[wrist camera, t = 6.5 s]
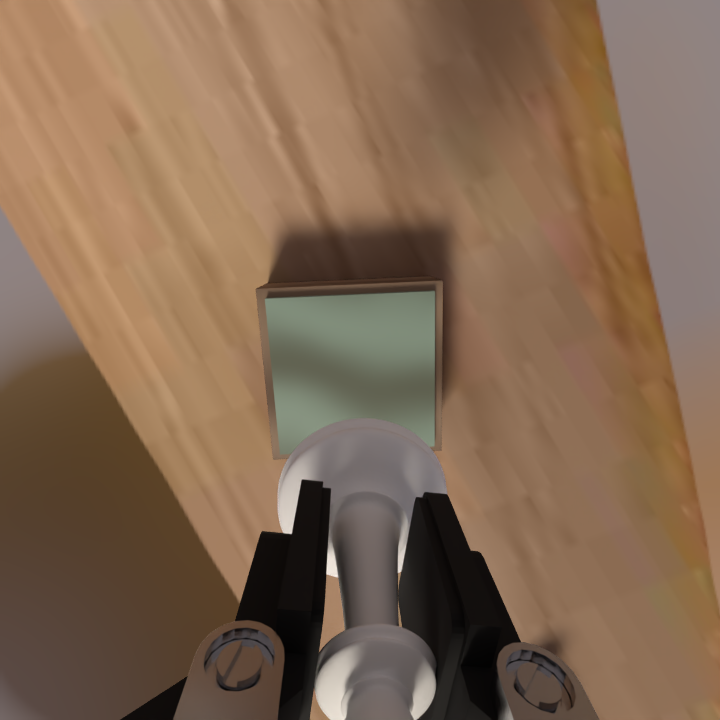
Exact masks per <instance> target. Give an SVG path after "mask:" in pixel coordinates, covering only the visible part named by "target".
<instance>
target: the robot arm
mask: <svg viewBox="0 0 720 720" xmlns="http://www.w3.org/2000/svg"><path fill="white" fill-rule="evenodd" d="M330 500H331V488H324V487H323V481H314V480H304V479H302V480H301V486H300V491H299V497H298V502H297V507H296V513H295V518H294V524H293V529H292V534H287V533H276V532H265V531H262V532H261V534H260V537H259V541H258V544H257V548H256V551H255V554H254V558H253V561H252V565H251V568H250V572H249V575H248V578H247V582H246V585H245V589H244V592H243V595H242V599H241V602H240V606H239V609H238V613H237V616H236V619H235V622H232V623H229V624H225V625H222V626H221V627H219V628H218V629H216V630H214V631H213V632H211V633H210V634H209V635H208V637H206V638H205V639H204V641H203V642H202V643H201V645H200V647H199V648H198V650H197V652H196V654H195V657H194V660H193V662H192V666H191V668H190V671H189V674H188V676H187V677H185V678H184V679H182V680H181V681H179V682H178V683H176V684H175V685H173V686H172V687H170V688H169V689H167V690H165V691H164V692H162V693H161V694H159V695H158V696H156V697H155V698H153V699H152V700H150V701H148V702H147V703H145V704H144V705H142V706H141V707H139V708H138V709H136V710H135V711H133V712H132V713H130V714H128V715H127V716H125V717H124V718H122V719H121V720H309V719H310V712H311V705H312V697H313V690H314V683H315V676H316V668H317V661H318V654H319V647H320V639H321V632H322V625H323V616H324V605H325V589H326V571H327V553H328V536H329V518H330ZM398 601H399V608H400V615H401V622H402V628H405V629H407V630H409V631H411V632H413V633H415V634H416V635H418V636H419V637H420V638H421V639H423V640H424V641H425V642H426V644H427V645H428V646H429V647H430V649H431V651H432V652H433V654H434V657H435V659H436V664H437V666H436V674H435V677H436V691H435V695H434V698H433V700H432V702H431V704H430V706H429V707H428V709H427V710H426V711H425V713H423V714H422V715H421V716H420V717H419V718H418V719H417V720H599V718H598V716H597V714H596V712H595V710H594V708H593V706H592V704H591V702H590V700H589V698H588V697H587V695H586V693H585V691H584V689H583V687H582V685H581V683H580V682H579V680H578V679H577V677H576V676H575V674H574V673H573V671H572V670H571V669H570V668H569V667H568V666H567V665H566V664H565V663H564V662H563V661H562V660H561V659H560V658H558V657H557V656H555V655H554V654H553V653H551V652H550V651H548V650H546V649H544V648H541V647H539V646H537V645H534V644H529V643H525V642H521V641H520V639H519V637H518V634H517V632H516V630H515V627H514V625H513V623H512V621H511V618H510V616H509V614H508V612H507V609H506V607H505V605H504V603H503V600H502V598H501V596H500V594H499V591H498V589H497V587H496V585H495V582H494V580H493V578H492V576H491V573H490V571H489V569H488V566H487V564H486V562H485V560H484V558H483V556H482V554H481V553H480V552H478V551H471V550H470V548H469V545H468V543H467V541H466V538H465V536H464V533H463V531H462V528H461V526H460V524H459V521H458V519H457V516H456V514H455V511H454V509H453V506H452V504H451V502H450V499H449V497H448V495H447V494H442V493H432V492H424V494H423V497H416V499H415V502H414V507H413V512H412V518H411V523H410V528H409V534H408V539H407V544H406V550H405V555H404V560H403V566H402V571H401V576H400V582H399V589H398Z"/></svg>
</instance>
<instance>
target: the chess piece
mask: <svg viewBox="0 0 720 720" xmlns="http://www.w3.org/2000/svg"><path fill="white" fill-rule="evenodd" d="M302 479H304V480H314V481H323V487H324V488H331V500H330V518H329V536H328V553H327V571H326V574H328V575H331V576H334V577H338V579H339V586H340V593H341V600H342V607H343V616H344V627H345V631H343V632H341V633H340V634H338V635H336V636H335V637H333V638H332V639H331V640H330V641H329V642H328V643H327V644H326V645H325V646H324V647H323V648H322V650H321V651H320V652H319V654H318V661H317V668H316V676H315V683H314V689H315V693H316V698H317V701H318V704H319V706H320V707H321V709H322V711H323V712H324V713H325V715H326V716H327V717H328V718H329V719H330V720H417V719H418V718H419V717H420V716H421V715H422V714H423V713H425V711H426V710H427V709H428V707H429V706H430V704H431V702H432V700H433V698H434V695H435V691H436V677H435V674H436V666H437V664H436V659H435V657H434V654H433V652H432V651H431V649H430V647H429V646H428V645H427V644H426V642H425V641H424V640H423V639H421V638H420V637H419V636H418V635H416V634H415V633H413V632H411V631H409V630H407V629H405V628H402V627H399V621H398V573H399V572H401V571H402V566H403V560H404V555H405V550H406V544H407V539H408V534H409V528H410V523H411V518H412V512H413V507H414V502H415V499H416V497H423V494H424V492H432V493H442V494H447V489H446V481H445V476H444V473H443V469H442V467H441V464H440V462H439V460H438V458H437V457H436V455H435V454H434V452H433V451H432V449H431V448H430V447H429V446H428V445H427V444H426V443H425V442H424V441H423V440H422V439H421V438H420V437H419V436H417V435H416V434H415V433H413V432H411V431H410V430H408V429H406V428H404V427H402V426H400V425H398V424H395V423H392V422H389V421H385V420H379V419H371V418H356V419H348V420H343V421H339V422H336V423H333V424H330V425H327V426H325V427H323V428H321V429H319V430H317V431H316V432H314V433H313V434H311V435H310V436H308V437H307V438H306V439H305V440H303V441H302V442H301V443H300V444H299V445H298V446H297V447H296V449H295V450H294V451H293V452H292V454H291V455H290V456H289V458H288V460H287V461H286V463H285V465H284V468H283V470H282V473H281V476H280V480H279V485H278V516H279V522H280V525H281V528H282V531H283V533H287V534H292V529H293V524H294V518H295V513H296V507H297V502H298V497H299V491H300V486H301V480H302Z"/></svg>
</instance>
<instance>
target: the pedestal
mask: <svg viewBox="0 0 720 720" xmlns="http://www.w3.org/2000/svg"><path fill="white" fill-rule="evenodd" d="M256 296H257V306H258V316H259V325H260V335H261V345H262V355H263V365H264V375H265V384H266V394H267V404H268V414H269V424H270V433H271V443H272V453H273V460H275V459H288V458H289V456H290V455H291V454H292V452H293V451H294V450H295V449H296V447H297V446H298V445H299V444H300V443H301V442H302V441H303V440H305V439H306V438H307V437H308V436H310V435H311V434H313V433H314V432H316V431H317V430H319V429H321V428H323V427H325V426H327V425H330V424H333V423H336V422H339V421H343V420H348V419H356V418H371V419H379V420H385V421H389V422H392V423H395V424H398V425H400V426H402V427H404V428H406V429H408V430H410V431H411V432H413V433H415V434H416V435H417V436H419V437H420V438H421V439H422V440H423V441H424V442H425V443H426V444H427V445H428V446H429V447H430V448H431V449H432V451H442V331H443V280H440V279H437V278H434V277H432V276H418V277H396V278H373V279H351V280H328V281H306V282H283V283H267V284H265V285H263V286H261V287H259V288H257V289H256Z"/></svg>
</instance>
